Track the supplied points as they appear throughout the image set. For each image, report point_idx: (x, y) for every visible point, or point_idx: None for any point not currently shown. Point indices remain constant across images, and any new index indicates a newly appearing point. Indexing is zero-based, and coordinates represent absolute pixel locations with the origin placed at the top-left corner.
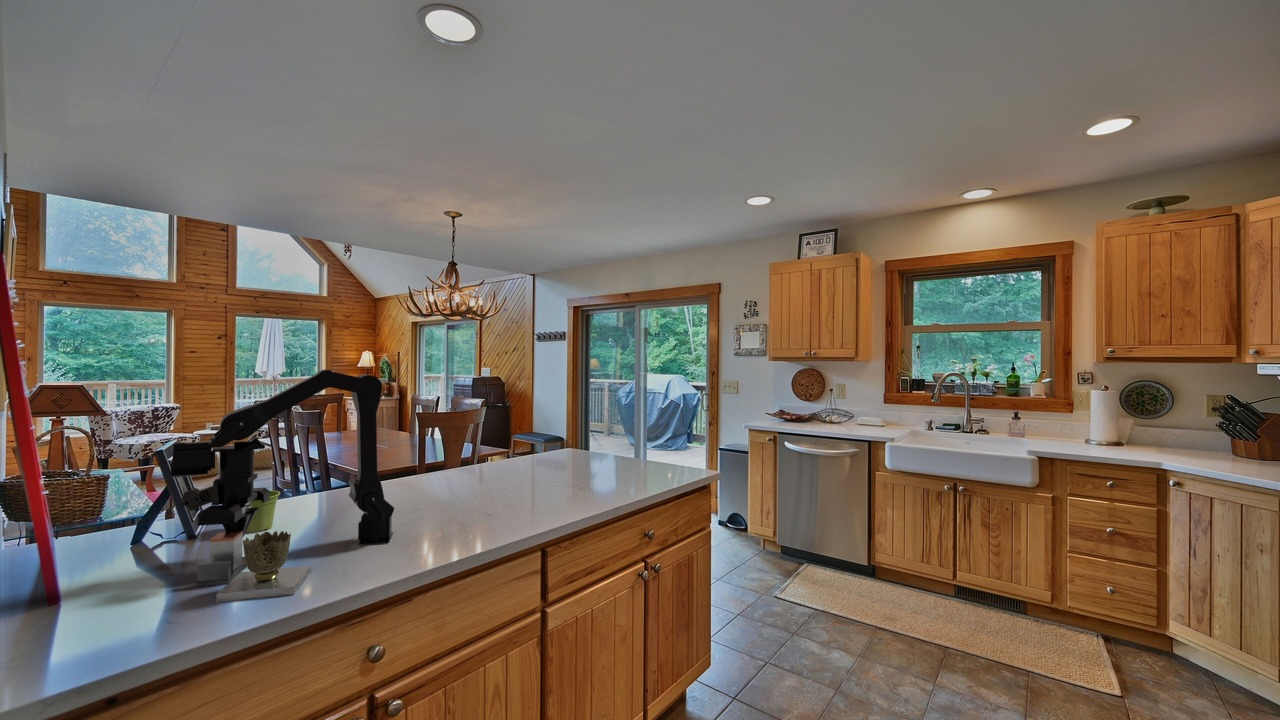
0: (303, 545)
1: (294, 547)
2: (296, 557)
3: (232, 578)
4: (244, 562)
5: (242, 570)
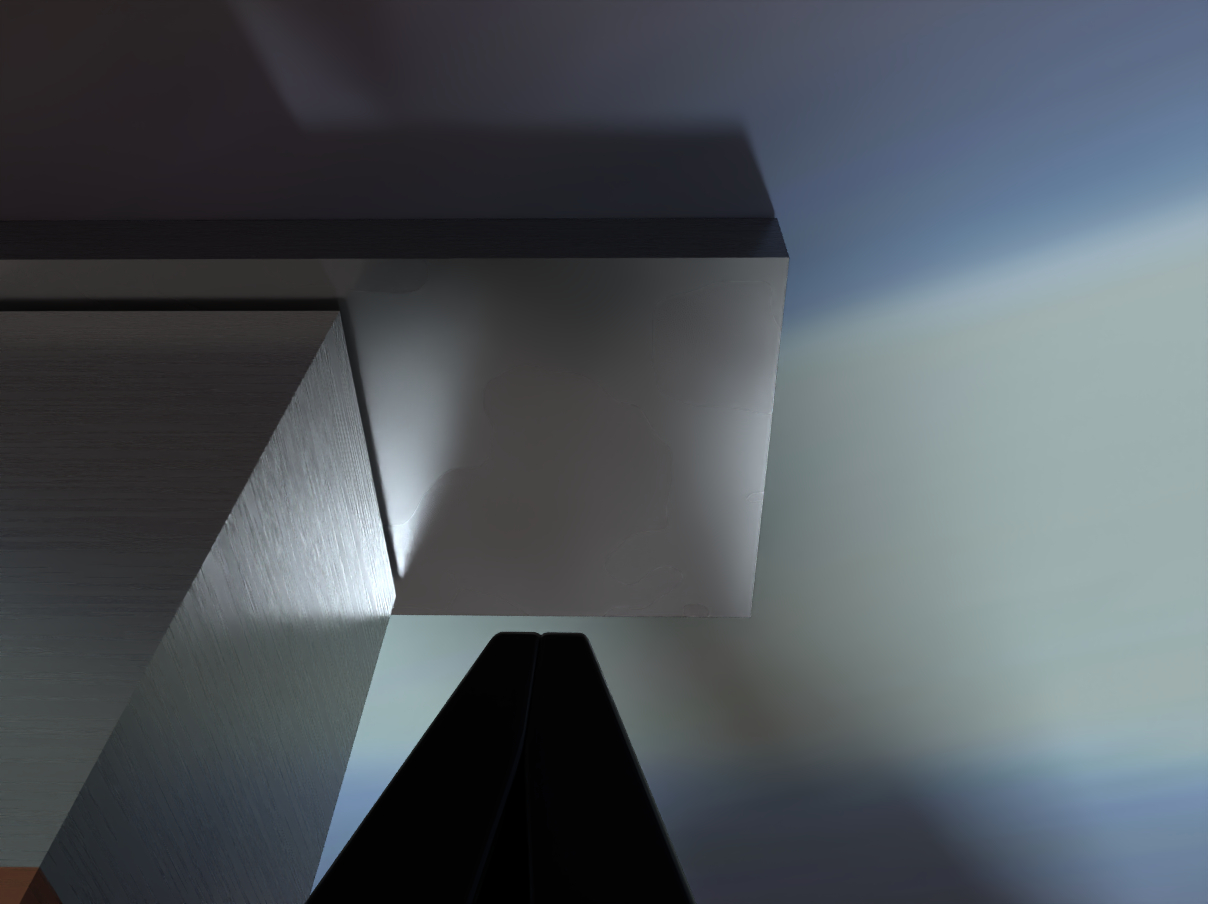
0: (1149, 859)
1: (1121, 807)
2: (705, 878)
3: None
4: (461, 595)
5: None
